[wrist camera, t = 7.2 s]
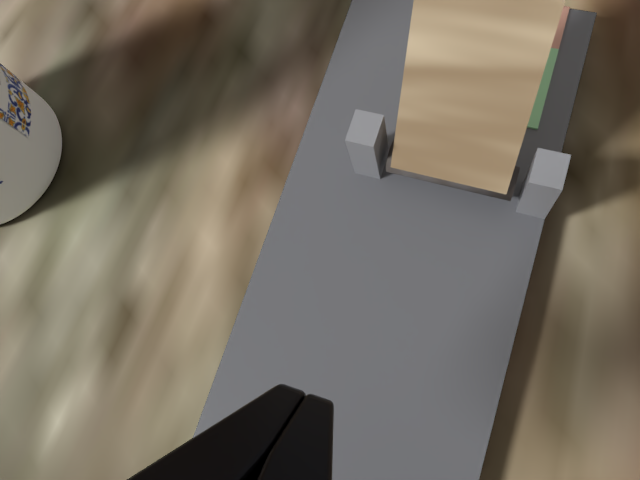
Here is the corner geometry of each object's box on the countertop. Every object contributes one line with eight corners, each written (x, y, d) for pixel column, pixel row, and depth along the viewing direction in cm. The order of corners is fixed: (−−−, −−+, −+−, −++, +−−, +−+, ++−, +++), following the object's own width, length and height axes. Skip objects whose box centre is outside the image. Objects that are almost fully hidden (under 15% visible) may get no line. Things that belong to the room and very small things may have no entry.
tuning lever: (507, 211, 19) (597, -74, 14) (382, 180, 20) (418, -94, 15) (513, 186, 20) (597, -86, 15) (394, 158, 22) (432, -104, 16)
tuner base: (457, 552, 18) (464, 586, 15) (199, 448, 21) (151, 456, 17) (589, 29, 23) (620, -43, 19) (362, -7, 25) (352, -76, 22)
